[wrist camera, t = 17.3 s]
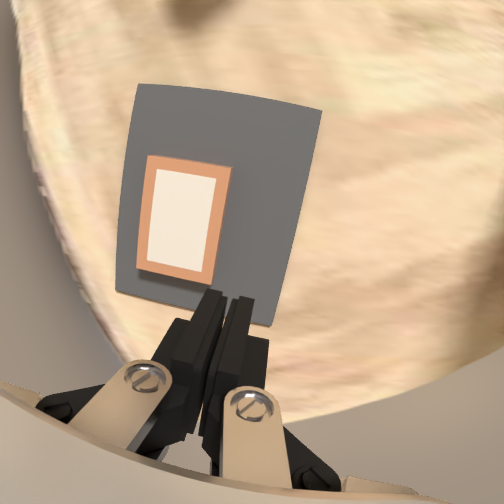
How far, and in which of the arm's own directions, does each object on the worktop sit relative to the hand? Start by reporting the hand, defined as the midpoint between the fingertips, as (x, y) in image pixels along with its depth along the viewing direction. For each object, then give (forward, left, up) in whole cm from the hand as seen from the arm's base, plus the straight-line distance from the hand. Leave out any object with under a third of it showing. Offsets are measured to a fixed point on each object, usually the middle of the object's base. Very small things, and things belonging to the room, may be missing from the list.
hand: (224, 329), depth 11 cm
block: (+1, -2, -16) cm, 16 cm away
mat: (0, -4, -17) cm, 18 cm away
